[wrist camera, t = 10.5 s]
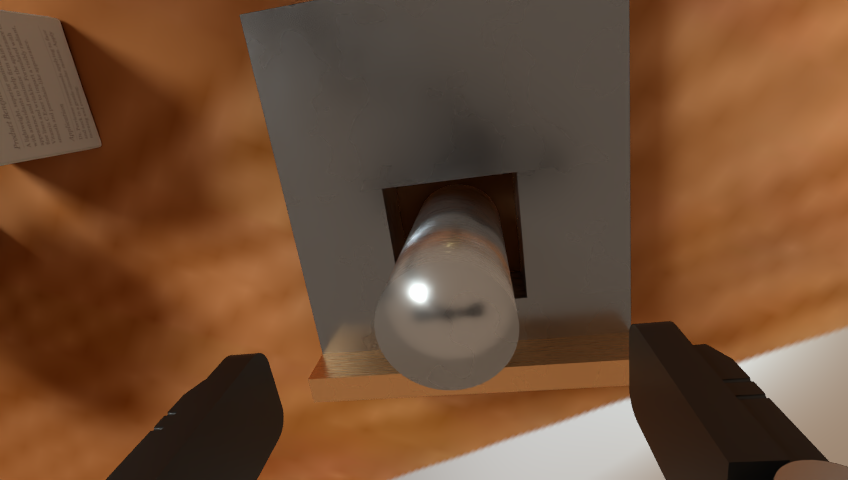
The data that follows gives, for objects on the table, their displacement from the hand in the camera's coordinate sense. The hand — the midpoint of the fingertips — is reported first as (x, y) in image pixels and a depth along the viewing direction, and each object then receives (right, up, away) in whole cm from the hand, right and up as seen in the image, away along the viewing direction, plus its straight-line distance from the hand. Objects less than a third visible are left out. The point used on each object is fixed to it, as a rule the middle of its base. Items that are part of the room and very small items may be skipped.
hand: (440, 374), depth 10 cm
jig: (+1, +6, +11) cm, 13 cm away
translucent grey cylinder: (+1, +4, +12) cm, 13 cm away
